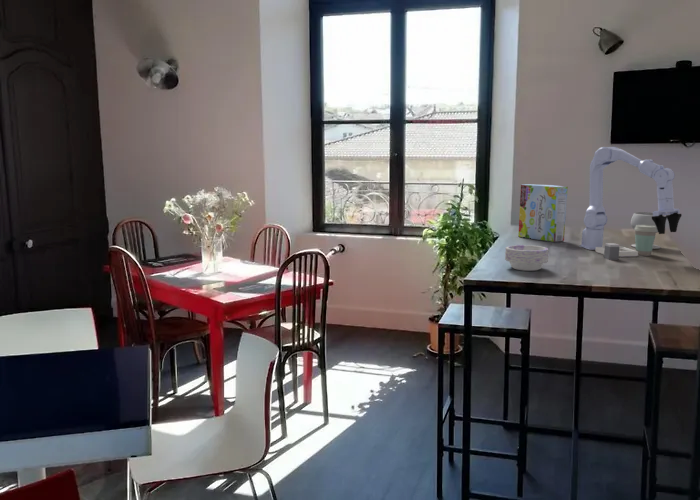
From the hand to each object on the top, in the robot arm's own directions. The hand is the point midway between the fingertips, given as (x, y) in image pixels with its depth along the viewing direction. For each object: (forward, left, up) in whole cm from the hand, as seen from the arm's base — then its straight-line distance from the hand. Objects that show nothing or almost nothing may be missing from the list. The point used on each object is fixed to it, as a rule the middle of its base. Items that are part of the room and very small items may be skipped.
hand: (667, 232), depth 258 cm
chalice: (-27, +8, -11) cm, 30 cm away
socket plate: (-12, -14, -10) cm, 21 cm away
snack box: (-54, -29, -11) cm, 62 cm away
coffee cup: (-9, -4, -11) cm, 15 cm away
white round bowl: (+14, -64, -11) cm, 67 cm away
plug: (-2, -22, -10) cm, 25 cm away
